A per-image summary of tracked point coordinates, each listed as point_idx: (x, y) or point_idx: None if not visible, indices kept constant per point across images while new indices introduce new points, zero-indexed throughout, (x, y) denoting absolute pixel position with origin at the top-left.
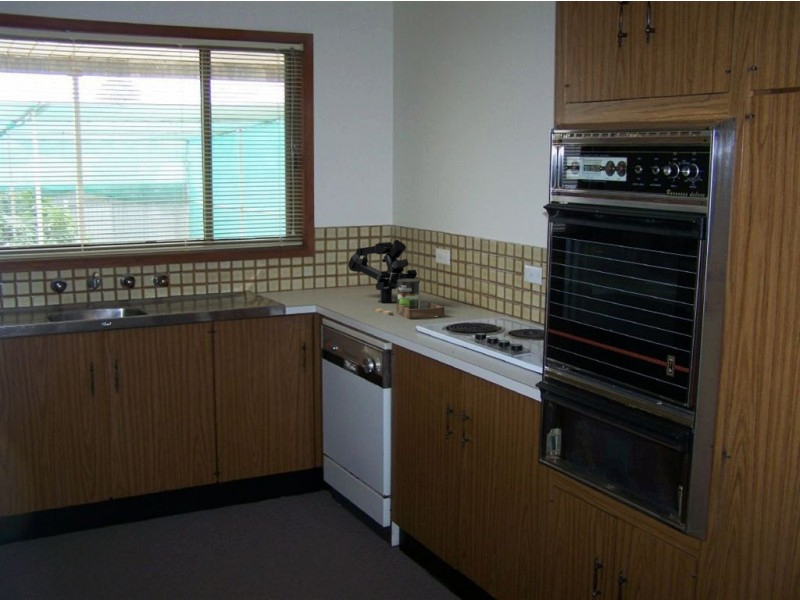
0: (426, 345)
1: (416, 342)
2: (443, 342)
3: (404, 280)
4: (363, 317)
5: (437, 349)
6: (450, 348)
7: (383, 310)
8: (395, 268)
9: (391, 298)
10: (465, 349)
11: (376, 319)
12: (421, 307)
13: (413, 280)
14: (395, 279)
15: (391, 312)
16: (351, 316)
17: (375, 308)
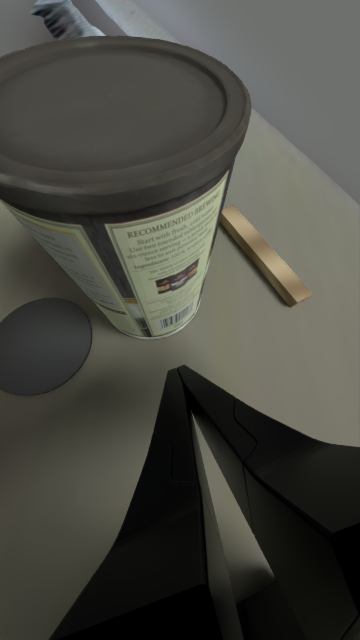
0: (162, 29)
1: (174, 38)
2: (133, 35)
3: (161, 87)
4: (308, 191)
5: (150, 19)
6: (131, 20)
7: (258, 240)
8: None
9: (255, 626)
10: (112, 16)
11: (263, 166)
12: (80, 338)
13: (50, 85)
14: (319, 443)
15: (224, 209)
16: (352, 206)
17: (300, 284)
